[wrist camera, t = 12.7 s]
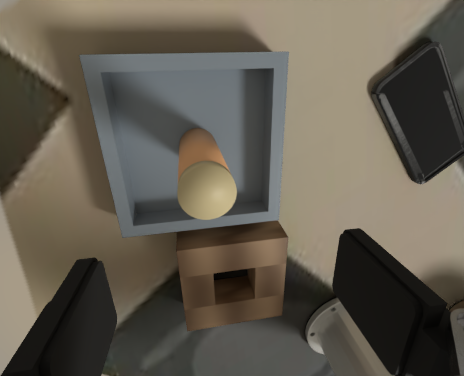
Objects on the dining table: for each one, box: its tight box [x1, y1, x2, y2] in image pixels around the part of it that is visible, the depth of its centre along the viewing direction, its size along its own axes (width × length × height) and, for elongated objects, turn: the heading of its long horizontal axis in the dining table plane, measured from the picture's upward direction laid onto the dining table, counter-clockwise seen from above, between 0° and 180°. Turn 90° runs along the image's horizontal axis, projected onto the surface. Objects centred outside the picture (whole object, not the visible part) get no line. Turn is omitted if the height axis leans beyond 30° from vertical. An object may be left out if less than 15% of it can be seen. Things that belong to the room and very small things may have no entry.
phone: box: [371, 42, 464, 184], centre depth 30 cm, size 8×1×15 cm
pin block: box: [176, 220, 288, 331], centre depth 32 cm, size 12×12×4 cm
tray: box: [79, 52, 289, 238], centre depth 25 cm, size 16×16×4 cm
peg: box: [177, 128, 237, 220], centre depth 21 cm, size 4×4×11 cm
